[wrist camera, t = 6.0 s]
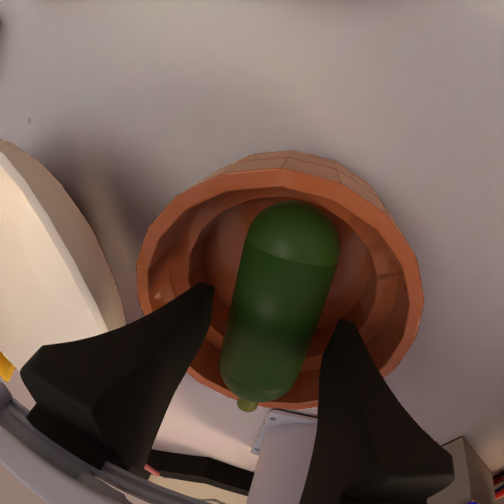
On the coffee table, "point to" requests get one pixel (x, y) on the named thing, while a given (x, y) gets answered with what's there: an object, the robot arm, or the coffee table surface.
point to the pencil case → (499, 486)
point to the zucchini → (277, 300)
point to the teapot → (6, 368)
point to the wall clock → (200, 477)
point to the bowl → (48, 264)
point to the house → (466, 478)
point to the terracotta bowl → (231, 246)
